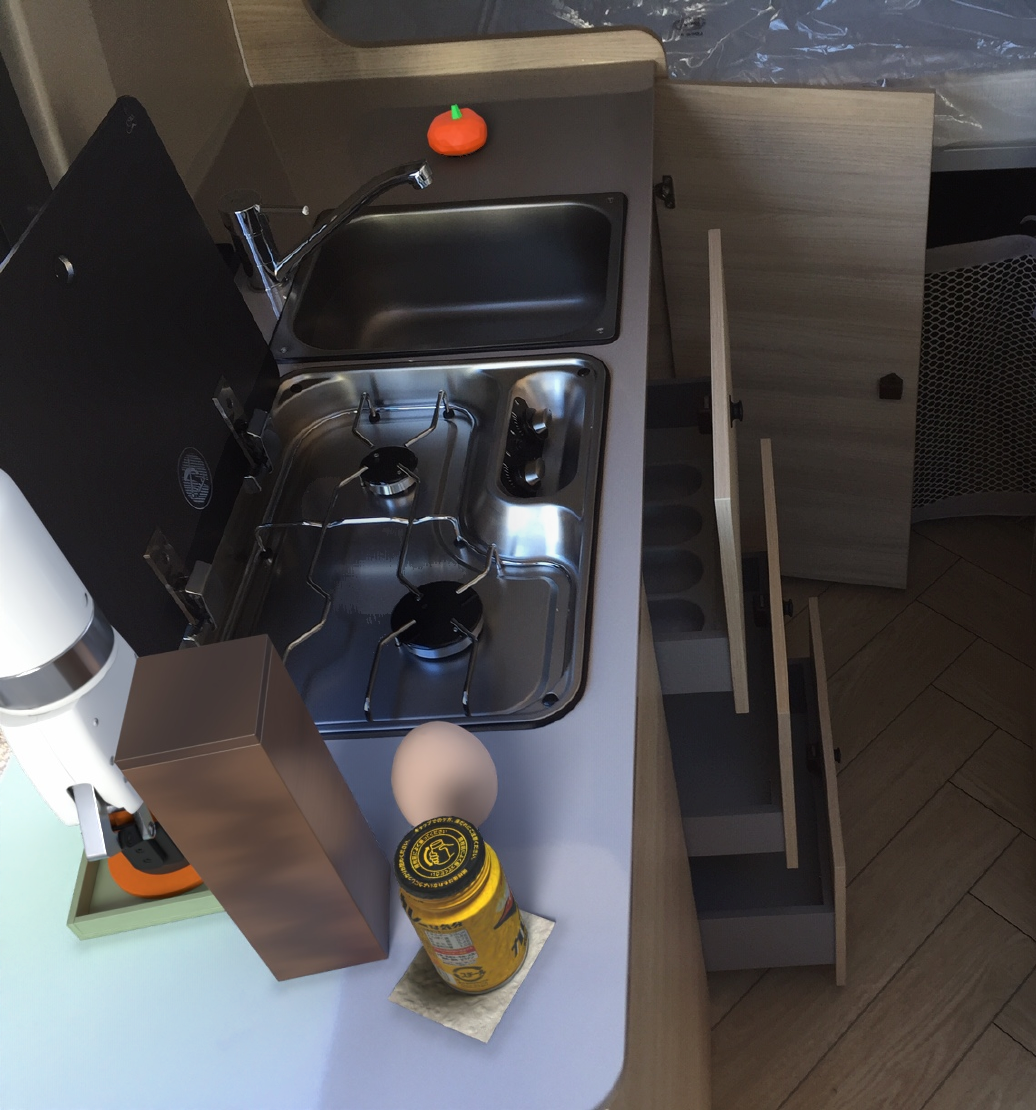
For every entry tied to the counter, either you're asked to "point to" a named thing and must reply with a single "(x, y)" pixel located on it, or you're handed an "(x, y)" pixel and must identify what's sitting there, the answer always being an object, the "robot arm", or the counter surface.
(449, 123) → the pumpkin
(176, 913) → the tray
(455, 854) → the condiment
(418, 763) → the egg
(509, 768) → the counter surface
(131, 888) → the hat
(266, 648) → the stand
